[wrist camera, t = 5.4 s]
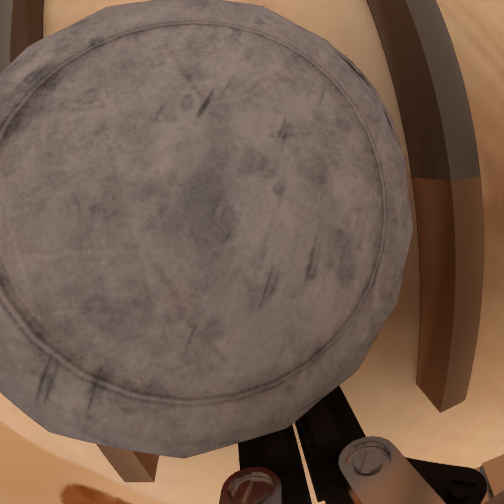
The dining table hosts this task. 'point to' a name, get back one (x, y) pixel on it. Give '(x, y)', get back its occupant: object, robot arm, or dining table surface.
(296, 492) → the robot arm
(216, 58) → the canned food
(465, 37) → the dining table surface
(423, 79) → the can dock
